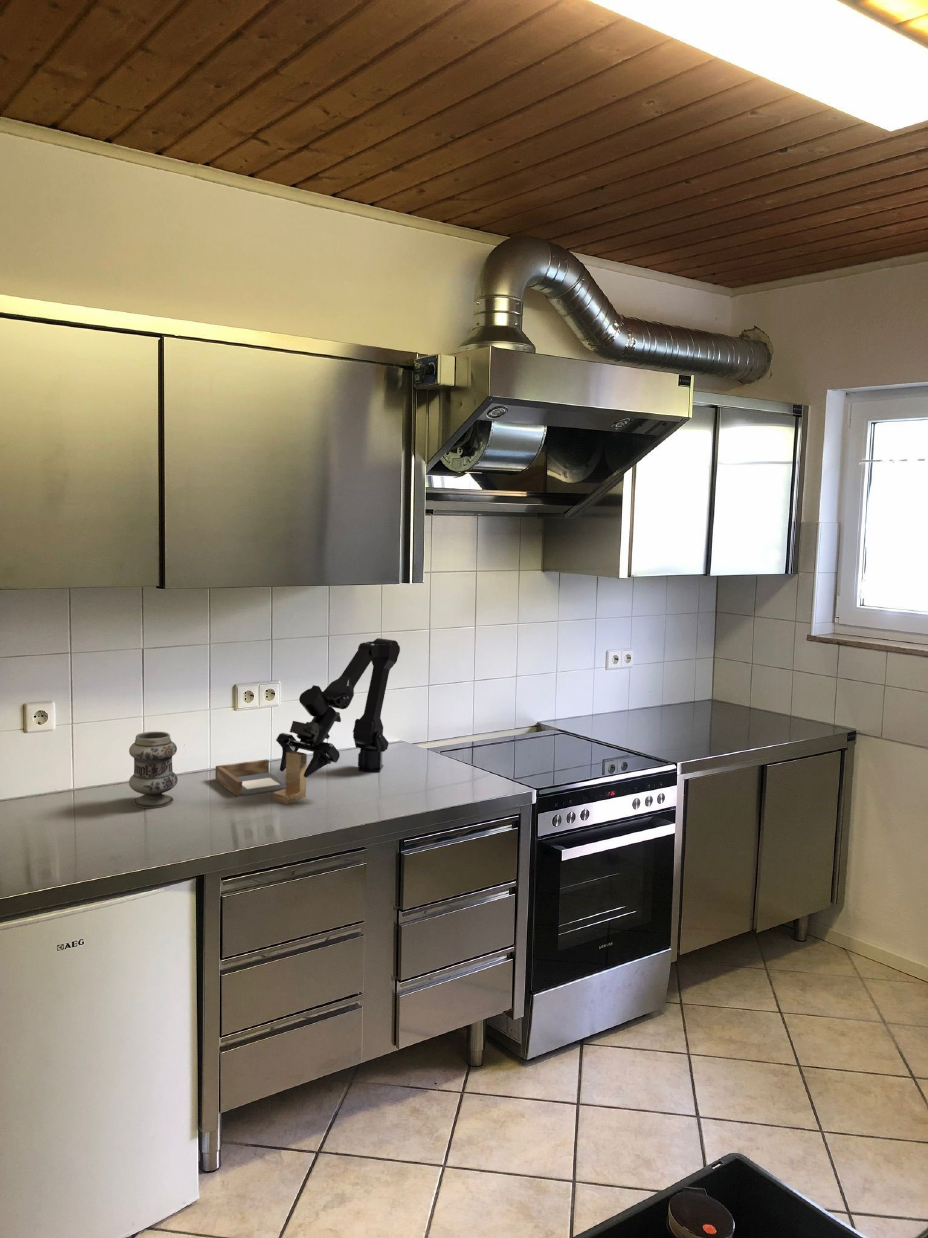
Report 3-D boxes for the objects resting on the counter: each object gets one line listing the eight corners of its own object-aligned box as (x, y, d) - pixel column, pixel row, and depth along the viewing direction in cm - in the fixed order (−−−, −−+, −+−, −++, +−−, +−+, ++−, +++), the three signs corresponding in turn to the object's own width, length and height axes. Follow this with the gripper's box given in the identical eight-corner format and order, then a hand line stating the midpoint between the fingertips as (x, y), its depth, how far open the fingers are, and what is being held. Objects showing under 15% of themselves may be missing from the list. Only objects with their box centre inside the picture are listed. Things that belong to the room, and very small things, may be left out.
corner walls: (266, 772, 280) (267, 759, 279) (291, 788, 266) (291, 774, 265) (215, 779, 271) (215, 766, 270) (237, 796, 257) (237, 782, 257)
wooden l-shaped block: (291, 793, 262) (292, 750, 260) (305, 797, 259) (306, 753, 258) (272, 800, 256) (273, 756, 254) (286, 804, 253) (287, 759, 251)
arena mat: (268, 774, 278) (268, 772, 278) (291, 788, 266) (291, 786, 266) (222, 780, 271) (222, 778, 270) (242, 795, 258) (242, 794, 258)
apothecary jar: (158, 792, 258) (158, 726, 256) (187, 801, 251) (187, 734, 249) (119, 802, 249) (118, 734, 246) (148, 813, 242) (148, 743, 239)
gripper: (281, 704, 265) (252, 751, 257) (333, 714, 255) (305, 764, 247) (299, 726, 272) (272, 773, 264) (351, 737, 263) (324, 786, 255)
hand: (292, 773), depth 257 cm, fingers open, 8 cm apart
